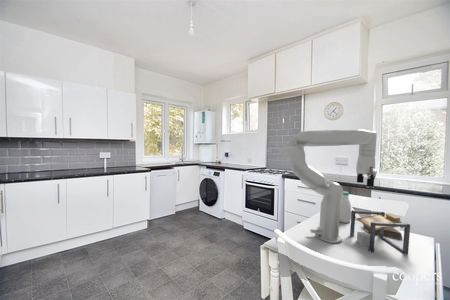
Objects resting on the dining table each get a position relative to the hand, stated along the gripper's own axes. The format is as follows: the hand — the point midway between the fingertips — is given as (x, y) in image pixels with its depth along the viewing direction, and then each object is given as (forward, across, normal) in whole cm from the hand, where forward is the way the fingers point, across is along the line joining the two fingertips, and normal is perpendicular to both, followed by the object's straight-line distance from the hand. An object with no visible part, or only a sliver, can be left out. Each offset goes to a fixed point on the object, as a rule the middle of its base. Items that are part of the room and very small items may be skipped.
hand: (364, 184), depth 110 cm
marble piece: (+31, -10, +16) cm, 36 cm away
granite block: (+28, +7, 0) cm, 29 cm away
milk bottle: (+31, -23, +1) cm, 38 cm away
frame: (+30, +6, +4) cm, 31 cm away
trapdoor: (+19, +6, +5) cm, 20 cm away
